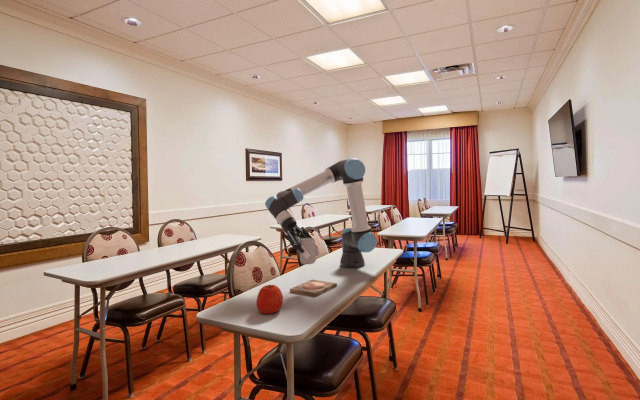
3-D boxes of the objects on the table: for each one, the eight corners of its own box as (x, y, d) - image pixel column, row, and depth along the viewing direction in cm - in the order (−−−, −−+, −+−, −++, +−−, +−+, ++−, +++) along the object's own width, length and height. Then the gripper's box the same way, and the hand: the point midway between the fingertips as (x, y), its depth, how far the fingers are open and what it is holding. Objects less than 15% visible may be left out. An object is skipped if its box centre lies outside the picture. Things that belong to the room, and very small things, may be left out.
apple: (286, 313, 135) (285, 286, 135) (259, 317, 132) (258, 290, 131) (280, 304, 145) (279, 280, 145) (254, 308, 142) (253, 283, 141)
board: (312, 282, 177) (312, 278, 177) (336, 286, 169) (336, 282, 169) (290, 291, 162) (289, 288, 162) (315, 296, 154) (315, 292, 154)
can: (297, 263, 166) (296, 238, 166) (308, 260, 172) (307, 236, 171) (308, 265, 161) (306, 240, 160) (319, 262, 166) (318, 237, 166)
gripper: (295, 224, 183) (321, 256, 174) (268, 229, 166) (296, 265, 158) (302, 214, 179) (329, 247, 171) (276, 218, 163) (304, 254, 154)
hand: (313, 255), depth 164 cm, fingers closed on can, 7 cm apart
